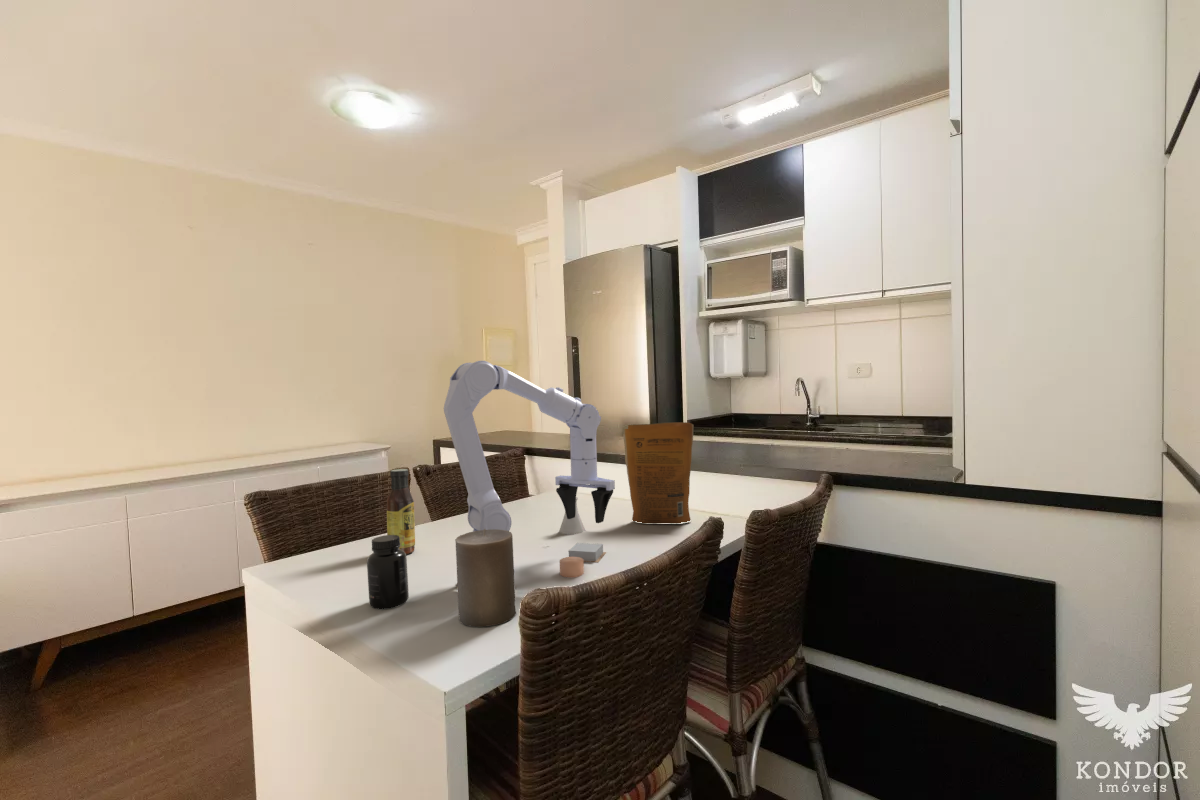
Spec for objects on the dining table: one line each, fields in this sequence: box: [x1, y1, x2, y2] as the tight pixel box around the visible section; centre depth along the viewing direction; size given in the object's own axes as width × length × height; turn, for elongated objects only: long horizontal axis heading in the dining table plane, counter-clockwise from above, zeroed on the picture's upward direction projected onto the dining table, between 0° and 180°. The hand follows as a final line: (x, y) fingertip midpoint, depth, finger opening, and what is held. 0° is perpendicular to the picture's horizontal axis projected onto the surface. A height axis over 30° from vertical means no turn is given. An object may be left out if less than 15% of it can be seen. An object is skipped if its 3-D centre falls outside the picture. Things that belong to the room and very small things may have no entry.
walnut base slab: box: [584, 551, 607, 564], centre depth 121 cm, size 7×7×2 cm
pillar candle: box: [454, 529, 517, 628], centre depth 95 cm, size 10×10×15 cm
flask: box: [558, 496, 587, 535], centre depth 143 cm, size 7×7×10 cm
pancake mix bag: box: [622, 421, 694, 523], centre depth 153 cm, size 7×19×28 cm, turn 79°
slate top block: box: [568, 542, 604, 561], centre depth 121 cm, size 6×6×2 cm
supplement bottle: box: [366, 534, 410, 610], centre depth 102 cm, size 7×7×12 cm
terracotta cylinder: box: [559, 556, 585, 578], centre depth 111 cm, size 5×5×4 cm
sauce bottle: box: [386, 468, 416, 555], centre depth 133 cm, size 7×6×20 cm
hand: (585, 520), depth 122 cm, fingers open, 7 cm apart
